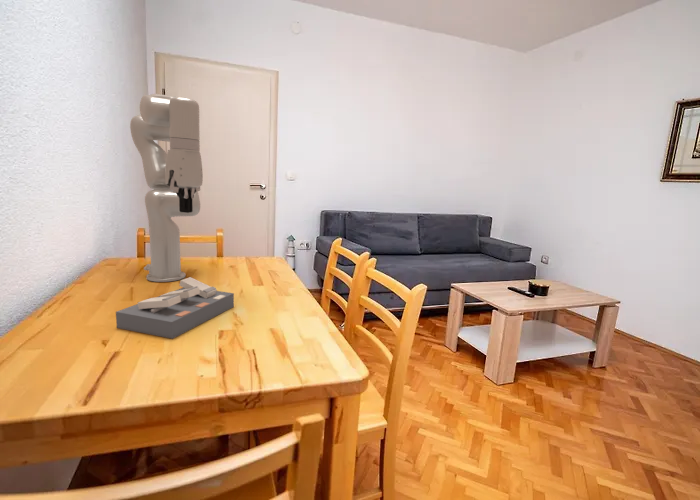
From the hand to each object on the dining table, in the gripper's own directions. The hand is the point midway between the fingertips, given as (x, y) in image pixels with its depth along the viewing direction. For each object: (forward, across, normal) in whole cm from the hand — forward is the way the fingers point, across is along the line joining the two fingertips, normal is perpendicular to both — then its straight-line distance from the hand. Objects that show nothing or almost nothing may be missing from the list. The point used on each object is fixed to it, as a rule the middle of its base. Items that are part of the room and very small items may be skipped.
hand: (186, 211), depth 105 cm
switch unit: (+26, +12, +9) cm, 30 cm away
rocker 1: (+20, +19, +9) cm, 29 cm away
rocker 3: (+20, +5, +8) cm, 22 cm away
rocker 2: (+20, +12, +8) cm, 25 cm away
